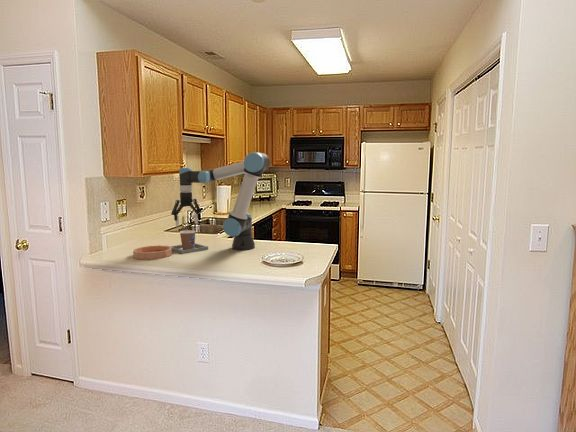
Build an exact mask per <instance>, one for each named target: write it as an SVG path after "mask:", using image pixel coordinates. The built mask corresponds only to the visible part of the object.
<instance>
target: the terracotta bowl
mask: <svg viewBox="0 0 576 432" xmlns="http://www.w3.org/2000/svg"><path fill="white" fill-rule="evenodd" d="M132 254H133V258H134V259H136V260H141V261H143V260H144V261H145V260H146V261H147V260H148V261H149V260H150V261H152V260H159V259H161V260H162V259H165V258H169V257H170V256H172V254H173V251H172V247H170V246H169V245H146V246H141V247H137V248H135V249H133V251H132Z"/></svg>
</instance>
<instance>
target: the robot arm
mask: <svg viewBox="0 0 576 432" xmlns="http://www.w3.org/2000/svg"><path fill="white" fill-rule="evenodd" d="M270 165H271V159H270V157H269V155H267V154H266V153H264V152H257V151H252V152H250V153H248V154H247V155H246V156H245V157H244V160H243V161H240V162H236V163H232V164H229V165H228V164H227V165H225V166H224V165H223V166H221V167H217V168H213V169H208V170H192V168H191V167H180V168H179V172H178V174H179V175H178V176H179V192H180V193H179V198H180V199H176V200H175V203H174V205H173V208H172V211H171V215H172V216H174V217H173V218H174V221H175V226H177V227H179V226H180V223H179V222H180V220H179V219H180V217H179V213H180V212H181V211H182V209H183V208H184V207H189V208H191V210H192V211H193V213H194V215H193V216H194V224H196V225H198V224H199V222H198V219H199V216H200V213H202V210H201V208H200V206H199V203H198V201H197V199H196V198H193V185H192V184H193V183H194V184H195V183H196V184H208V183H213V182H216V181H219V180H223V179H226V178H231V177H234V176H238V175H243V174H244V176H243V178H242V183H241V184H240V187H239V189H238V190H239V191H238V194H237V197H236V199H235V203H234V205H233V209H232V210H231V211H230V212H229V213H228V215H227V219H225V220H224V222H223V224H222V228H223V231H224V233H225V234H226V236H229V237H233V241H232V244H231V248H232V249H233V250H237V251H238V250H240V251H246V250H247V251H248V250H251V249H255V248H256V243H255V241H254V238H253V224H252V223H253V222H252V220H253V218H252V214H251V213H248V209H249V207H250V204H251V202H252V198H253V196H254V193H255V189H256V186H257V183H258V180H259V179H262V177H263V174H264V172H265V171H267V170H269V167H270Z"/></svg>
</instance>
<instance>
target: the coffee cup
mask: <svg viewBox="0 0 576 432" xmlns="http://www.w3.org/2000/svg"><path fill="white" fill-rule="evenodd" d="M179 235H180V240H181V245H182V248H181V249H182V250H188V249H194V248H195V247H194V245H195V243H196V242H195V241H196V230H193V229H192V230H189V229H188V230H180V231H179Z"/></svg>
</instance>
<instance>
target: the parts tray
mask: <svg viewBox="0 0 576 432" xmlns="http://www.w3.org/2000/svg"><path fill="white" fill-rule="evenodd" d="M170 247H172V252H174V253H178V254H181V255H184V254H185V255H187V254H190V253H197V252H201V251H208V250H209V246H207V245H203V244H199V243H196V242H195V245H194V249H188V250H183V248H182V244H178V245H171V246H170Z"/></svg>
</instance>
